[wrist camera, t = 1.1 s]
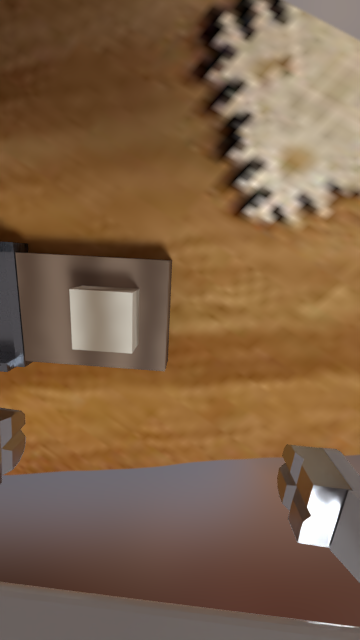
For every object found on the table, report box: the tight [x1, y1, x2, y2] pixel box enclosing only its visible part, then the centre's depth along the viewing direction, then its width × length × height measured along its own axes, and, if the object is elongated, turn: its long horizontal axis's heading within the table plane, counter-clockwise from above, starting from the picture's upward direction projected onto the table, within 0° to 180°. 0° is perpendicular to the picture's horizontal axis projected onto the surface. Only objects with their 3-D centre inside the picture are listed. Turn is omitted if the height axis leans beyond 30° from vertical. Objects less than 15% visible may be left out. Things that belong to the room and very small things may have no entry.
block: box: [69, 286, 139, 354], centre depth 27 cm, size 6×6×3 cm
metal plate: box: [15, 253, 172, 371], centre depth 30 cm, size 16×12×3 cm
